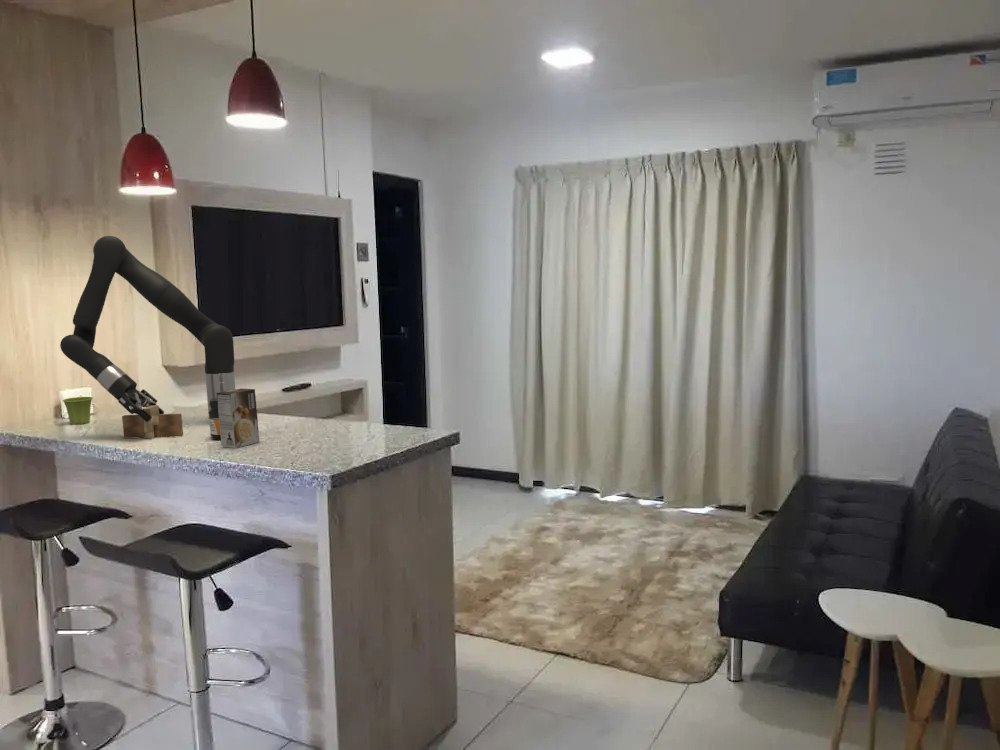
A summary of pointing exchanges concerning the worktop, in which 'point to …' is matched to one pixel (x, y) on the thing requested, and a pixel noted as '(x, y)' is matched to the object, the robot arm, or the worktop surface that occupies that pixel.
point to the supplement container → (214, 419)
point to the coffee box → (238, 417)
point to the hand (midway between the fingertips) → (156, 417)
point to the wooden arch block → (151, 420)
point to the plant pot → (78, 409)
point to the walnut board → (166, 426)
